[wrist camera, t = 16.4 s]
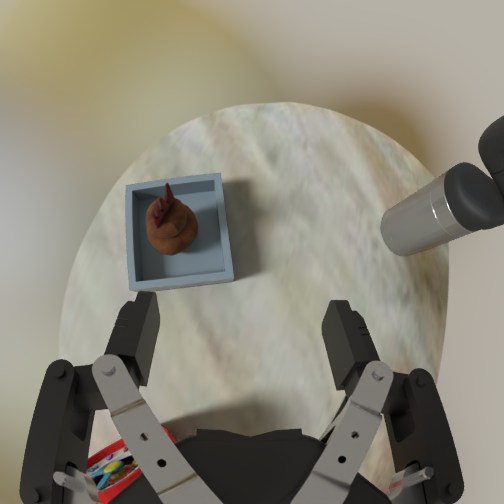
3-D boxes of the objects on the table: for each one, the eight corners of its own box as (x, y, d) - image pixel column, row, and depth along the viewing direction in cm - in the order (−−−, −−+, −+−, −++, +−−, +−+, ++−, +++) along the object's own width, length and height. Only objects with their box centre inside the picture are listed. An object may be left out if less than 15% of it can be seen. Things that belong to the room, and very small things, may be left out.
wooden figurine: (183, 208, 42) (167, 159, 27) (206, 237, 42) (201, 198, 27) (148, 237, 41) (115, 200, 26) (171, 266, 40) (146, 242, 26)
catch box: (220, 187, 45) (220, 172, 40) (232, 281, 42) (234, 278, 37) (134, 198, 43) (125, 185, 38) (139, 292, 40) (129, 290, 35)
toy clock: (177, 411, 37) (149, 480, 17) (199, 439, 36) (190, 518, 17) (88, 452, 33) (34, 508, 13) (109, 477, 32) (67, 541, 13)
